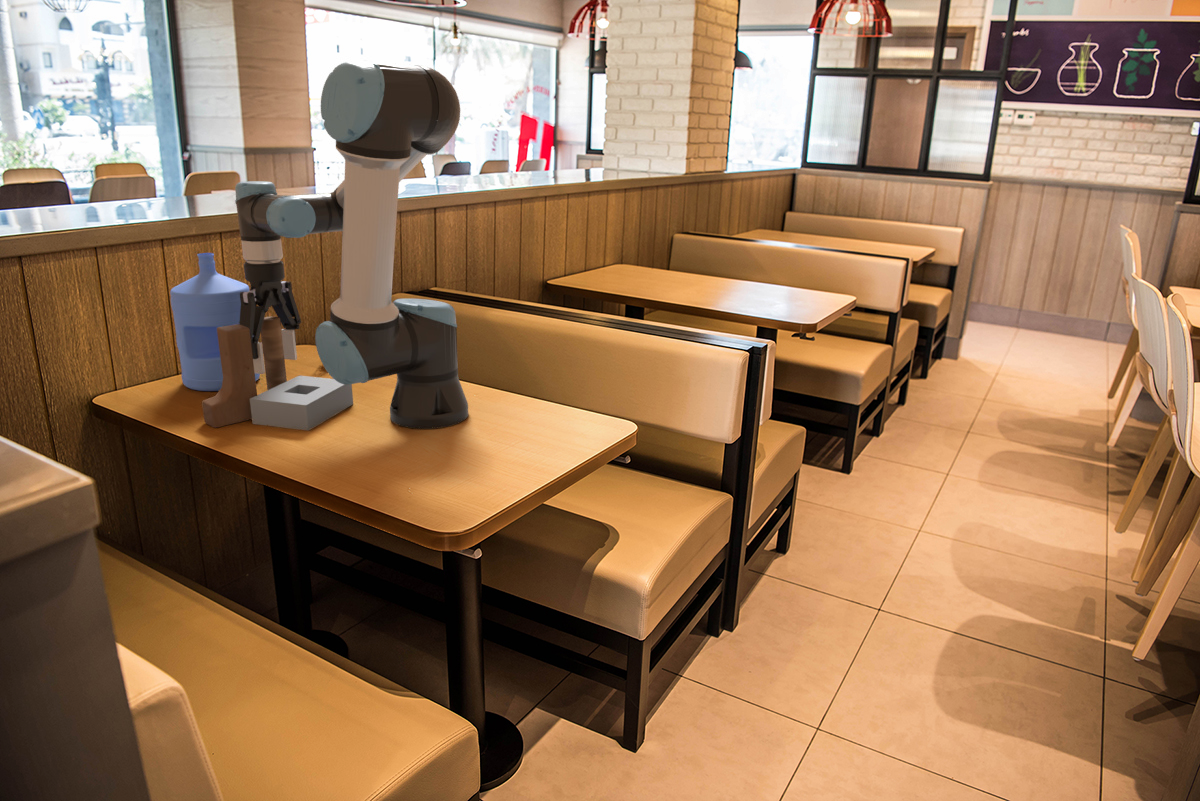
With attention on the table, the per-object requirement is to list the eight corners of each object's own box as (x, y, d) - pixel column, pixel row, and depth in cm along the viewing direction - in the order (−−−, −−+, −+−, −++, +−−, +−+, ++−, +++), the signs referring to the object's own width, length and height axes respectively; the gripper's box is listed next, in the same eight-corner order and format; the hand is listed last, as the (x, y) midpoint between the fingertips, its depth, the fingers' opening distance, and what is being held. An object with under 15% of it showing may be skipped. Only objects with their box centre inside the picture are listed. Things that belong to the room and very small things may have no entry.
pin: (291, 390, 177) (284, 317, 172) (280, 396, 173) (272, 321, 168) (275, 388, 178) (267, 316, 173) (263, 394, 174) (255, 320, 169)
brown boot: (214, 429, 154) (201, 335, 148) (203, 423, 157) (190, 331, 151) (260, 417, 161) (250, 327, 155) (250, 412, 163) (239, 323, 158)
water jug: (173, 379, 182) (153, 252, 173) (245, 367, 192) (230, 246, 183) (196, 397, 171) (177, 262, 162) (271, 383, 181) (257, 255, 172)
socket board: (301, 398, 172) (299, 375, 170) (353, 404, 169) (351, 380, 168) (252, 423, 157) (249, 398, 156) (308, 430, 154) (305, 405, 153)
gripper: (281, 251, 178) (291, 350, 185) (208, 268, 157) (223, 379, 164) (312, 253, 176) (321, 353, 183) (242, 270, 155) (256, 383, 162)
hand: (274, 365), depth 173 cm, fingers open, 10 cm apart
